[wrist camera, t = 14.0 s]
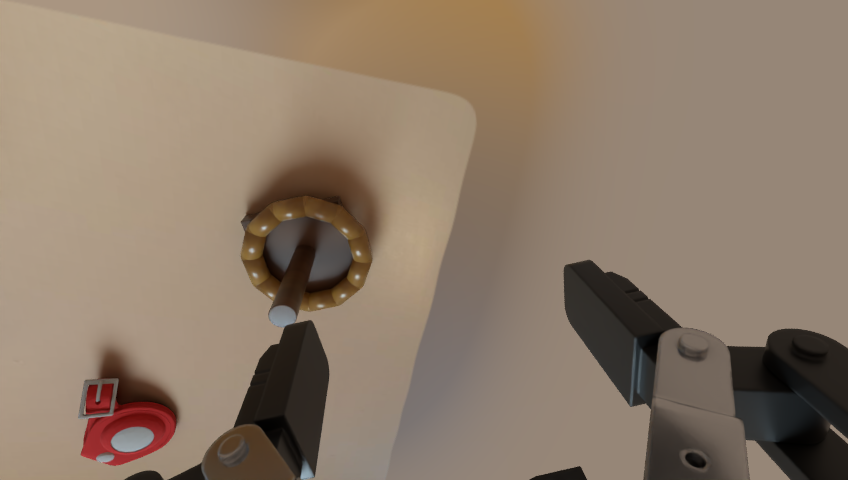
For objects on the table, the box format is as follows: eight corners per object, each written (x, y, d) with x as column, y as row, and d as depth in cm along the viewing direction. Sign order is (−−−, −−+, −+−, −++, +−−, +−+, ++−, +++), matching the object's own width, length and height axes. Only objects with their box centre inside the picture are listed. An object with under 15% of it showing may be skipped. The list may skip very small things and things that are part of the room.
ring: (226, 209, 35) (218, 216, 34) (354, 183, 35) (353, 189, 34) (270, 313, 40) (266, 324, 39) (382, 290, 40) (382, 300, 39)
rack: (245, 215, 37) (194, 277, 27) (339, 195, 37) (325, 249, 27) (278, 294, 41) (245, 375, 31) (362, 275, 41) (358, 349, 31)
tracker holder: (195, 428, 46) (124, 486, 45) (196, 399, 49) (131, 452, 49) (92, 385, 39) (6, 453, 38) (102, 355, 42) (24, 417, 41)
